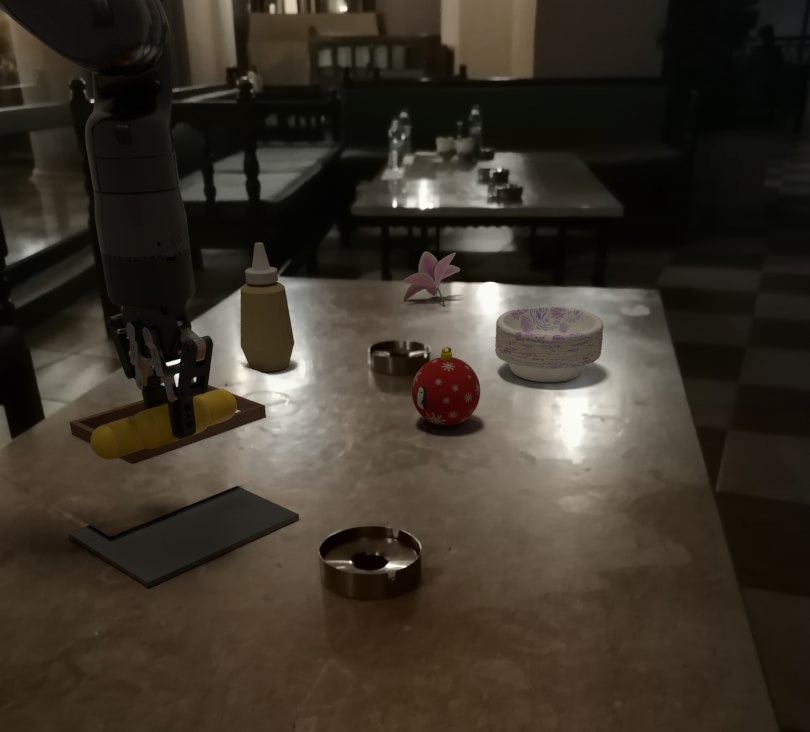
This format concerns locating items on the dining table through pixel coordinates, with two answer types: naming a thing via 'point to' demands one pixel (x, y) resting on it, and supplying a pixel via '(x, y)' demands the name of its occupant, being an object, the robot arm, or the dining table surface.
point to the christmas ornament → (446, 390)
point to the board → (186, 535)
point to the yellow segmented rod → (158, 425)
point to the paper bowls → (548, 342)
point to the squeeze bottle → (265, 317)
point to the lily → (430, 275)
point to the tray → (246, 414)
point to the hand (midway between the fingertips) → (172, 429)
